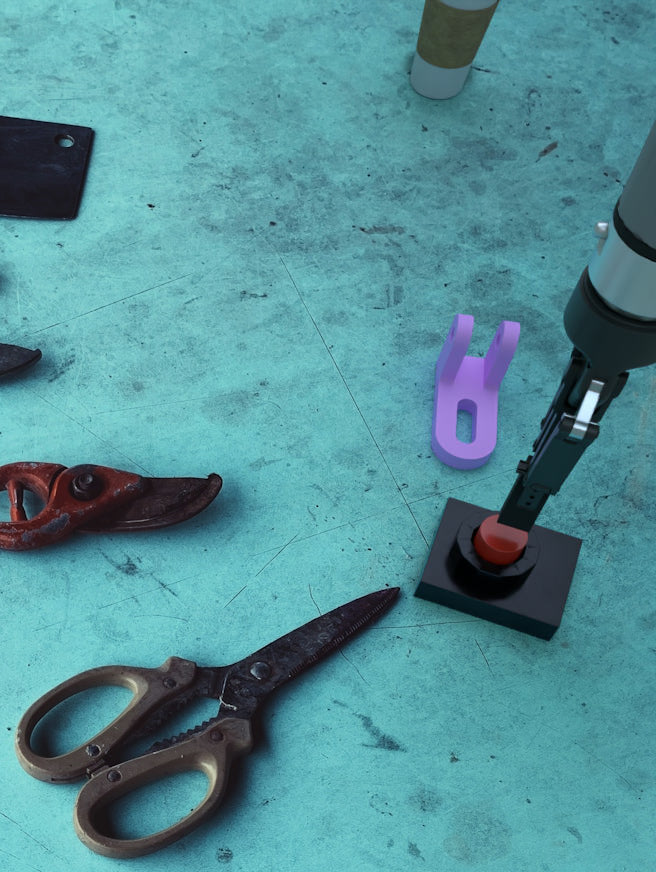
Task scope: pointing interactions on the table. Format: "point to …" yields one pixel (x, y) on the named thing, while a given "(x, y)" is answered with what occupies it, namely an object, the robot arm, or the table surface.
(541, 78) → the table surface
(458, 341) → the bracket
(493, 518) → the button
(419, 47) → the coffee cup
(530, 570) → the switch box
